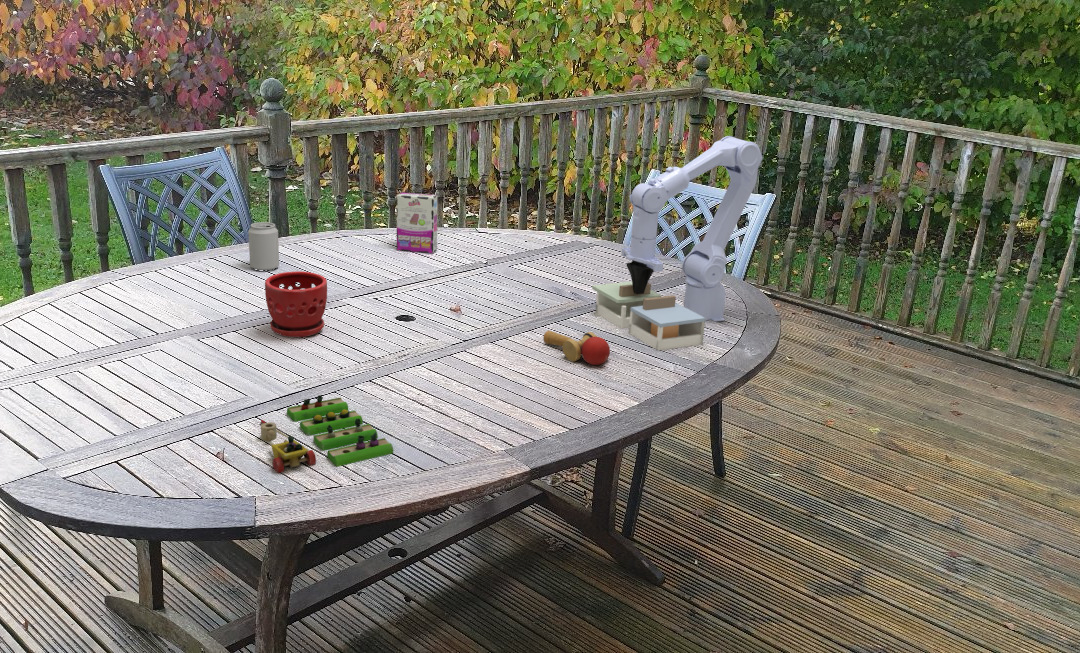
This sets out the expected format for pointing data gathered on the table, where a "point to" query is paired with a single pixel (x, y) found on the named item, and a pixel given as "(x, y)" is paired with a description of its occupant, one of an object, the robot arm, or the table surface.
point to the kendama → (581, 347)
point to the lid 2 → (666, 312)
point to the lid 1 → (624, 292)
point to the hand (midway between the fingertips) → (638, 293)
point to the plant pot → (296, 303)
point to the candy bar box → (416, 222)
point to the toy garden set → (326, 435)
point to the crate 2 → (642, 329)
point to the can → (263, 246)
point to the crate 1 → (615, 310)
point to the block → (665, 331)
